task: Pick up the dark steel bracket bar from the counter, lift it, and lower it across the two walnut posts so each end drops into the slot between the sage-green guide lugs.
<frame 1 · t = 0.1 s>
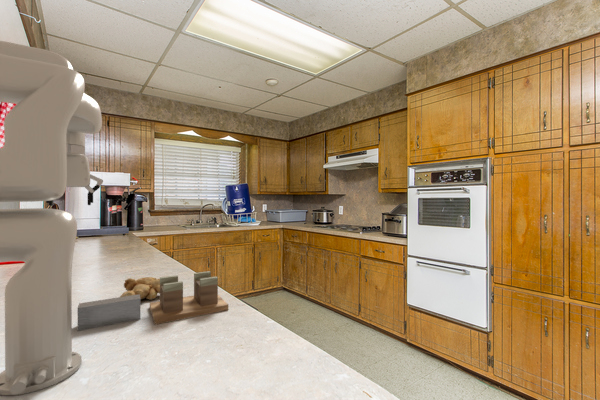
hand: (70, 205, 94), 31 cm above the counter, tool pointing down, fingers open, 9 cm apart
ginger root: (143, 298, 100), on the counter
post rig: (188, 308, 90), on the counter
bracket bar: (110, 322, 80), on the counter
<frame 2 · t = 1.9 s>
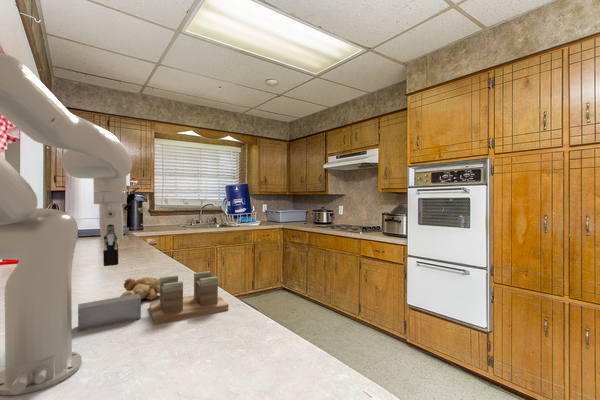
hand: (111, 261, 80), 16 cm above the counter, tool pointing down, fingers open, 9 cm apart
nothing on the counter moved.
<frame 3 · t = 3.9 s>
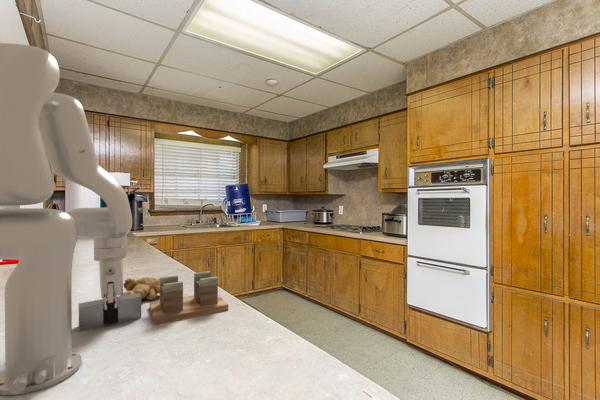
hand: (111, 319, 80), 1 cm above the counter, tool pointing down, fingers closed on bracket bar, 4 cm apart
bracket bar: (111, 321, 80), on the counter, touching gripper
everything else where it was.
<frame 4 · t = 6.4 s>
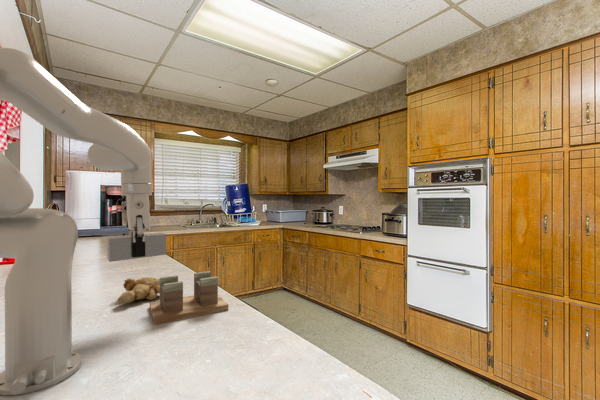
hand: (137, 254, 83), 18 cm above the counter, tool pointing down, fingers closed on bracket bar, 4 cm apart
bracket bar: (137, 256, 83), point 17 cm above the counter, touching gripper
everything else where it was.
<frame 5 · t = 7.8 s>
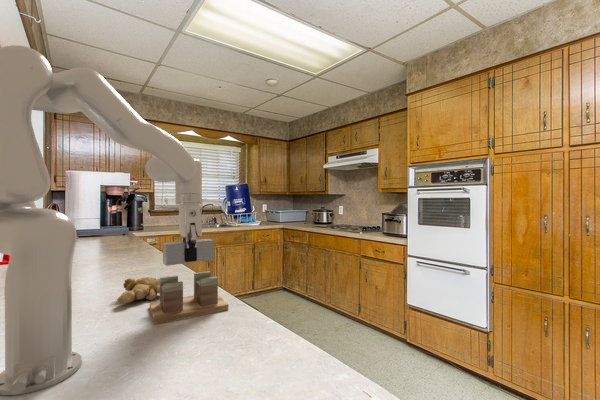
hand: (189, 259, 90), 15 cm above the counter, tool pointing down, fingers closed on bracket bar, 4 cm apart
bracket bar: (189, 261, 90), point 14 cm above the counter, touching gripper
everything else where it was.
when the fingers open (9 cm above the counter, at t = 9.0 s): bracket bar drops 1 cm, resting on post rig.
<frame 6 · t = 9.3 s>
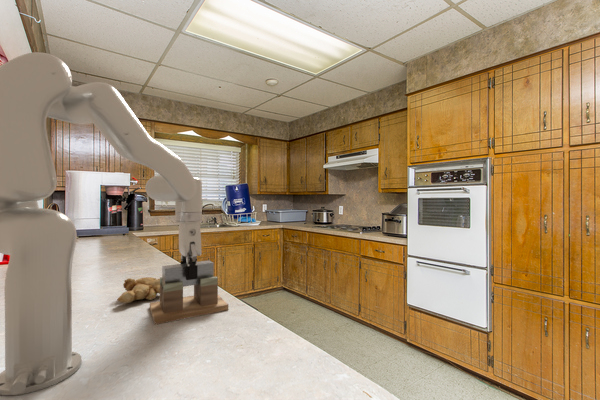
hand: (188, 275, 90), 10 cm above the counter, tool pointing down, fingers open, 7 cm apart
bracket bar: (188, 284, 90), point 7 cm above the counter, touching post rig
everything else where it was.
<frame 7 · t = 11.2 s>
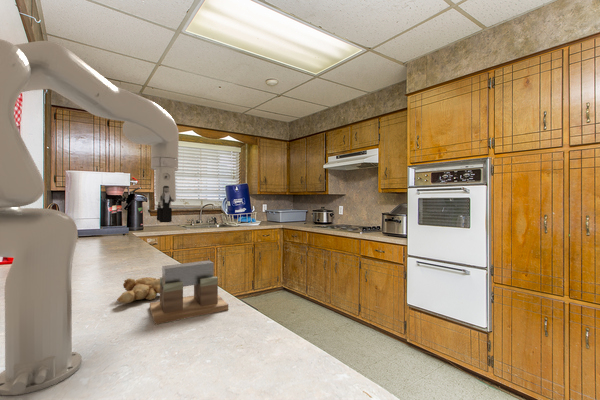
hand: (163, 221, 89), 27 cm above the counter, tool pointing down, fingers open, 9 cm apart
nothing on the counter moved.
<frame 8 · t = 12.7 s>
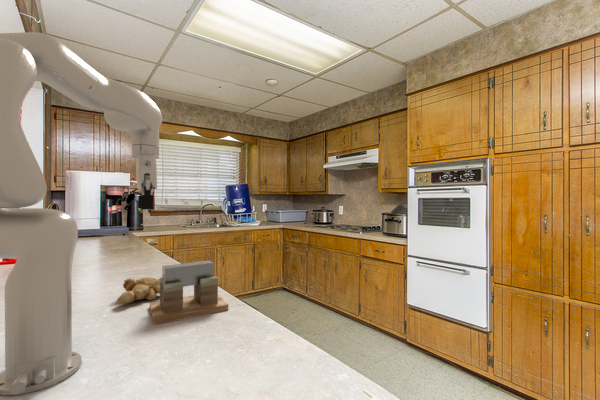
hand: (145, 208, 90), 30 cm above the counter, tool pointing down, fingers open, 9 cm apart
nothing on the counter moved.
at the end: bracket bar 0.0 cm off-centre on the post rig, point 7.5 cm above the post rig's base; bracket bar tilted 0°; the gripper is holding nothing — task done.
